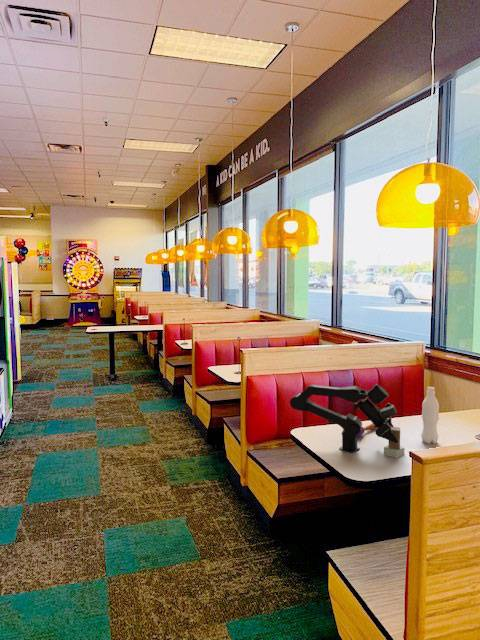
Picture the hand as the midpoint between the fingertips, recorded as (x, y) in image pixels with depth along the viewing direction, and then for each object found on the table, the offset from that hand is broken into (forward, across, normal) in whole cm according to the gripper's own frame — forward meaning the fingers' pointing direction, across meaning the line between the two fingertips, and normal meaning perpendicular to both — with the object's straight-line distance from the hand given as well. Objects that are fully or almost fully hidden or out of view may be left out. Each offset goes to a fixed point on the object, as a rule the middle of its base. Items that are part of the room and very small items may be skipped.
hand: (397, 438), depth 202 cm
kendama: (-6, +23, +16) cm, 29 cm away
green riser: (+4, 0, +6) cm, 7 cm away
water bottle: (+15, +20, -5) cm, 25 cm away
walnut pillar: (+2, 0, +4) cm, 4 cm away
